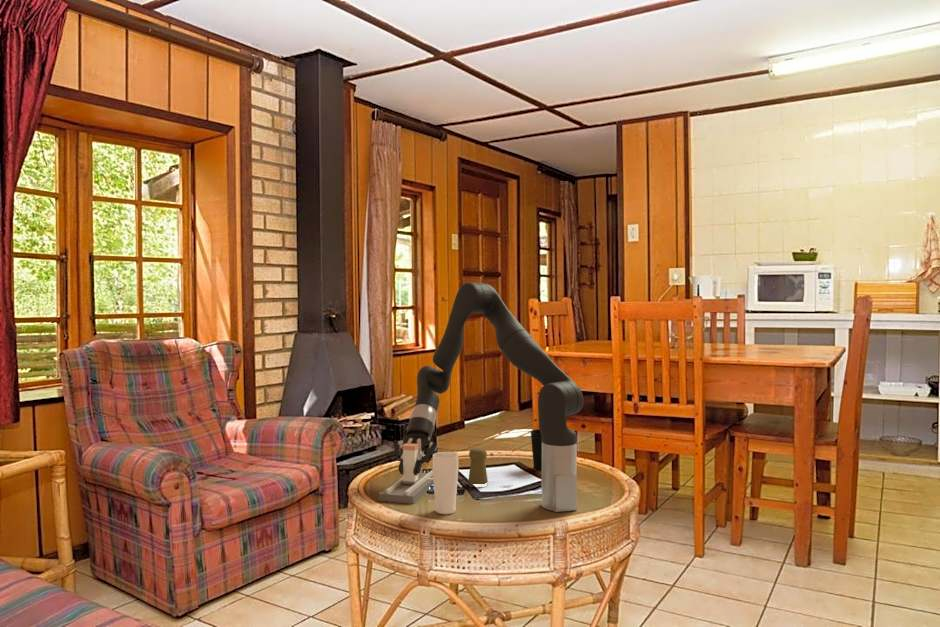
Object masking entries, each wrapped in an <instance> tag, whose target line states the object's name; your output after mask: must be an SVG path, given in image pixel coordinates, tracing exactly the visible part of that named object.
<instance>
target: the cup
mask: <svg viewBox="0 0 940 627" xmlns="http://www.w3.org/2000/svg"><path fill="white" fill-rule="evenodd" d="M530 439H531V450H532V452H531V453H532V460H533V461H532V463H533V470H535V471H541V472H542V436H541V433H540V430H539V428H538V429H532V430H531V431H530Z"/></svg>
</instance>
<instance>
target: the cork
mask: <svg viewBox="0 0 940 627" xmlns="http://www.w3.org/2000/svg"><path fill="white" fill-rule="evenodd" d="M468 455H469V459H470V464H469V465H470V466H469V473H468V480H467V483H468V482H469V483H472V484H485V483H487V482H488V483H489V480H488V474H487V467H486V466H487V465H486V458H487V457H488V453H487V449H485V448H483V447H473V448H471V449H469V452H468Z"/></svg>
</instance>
